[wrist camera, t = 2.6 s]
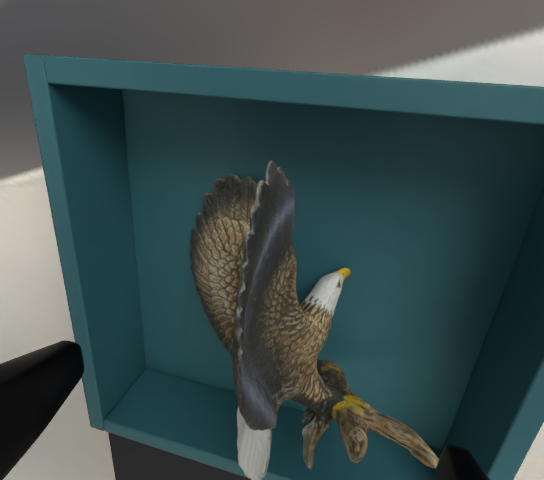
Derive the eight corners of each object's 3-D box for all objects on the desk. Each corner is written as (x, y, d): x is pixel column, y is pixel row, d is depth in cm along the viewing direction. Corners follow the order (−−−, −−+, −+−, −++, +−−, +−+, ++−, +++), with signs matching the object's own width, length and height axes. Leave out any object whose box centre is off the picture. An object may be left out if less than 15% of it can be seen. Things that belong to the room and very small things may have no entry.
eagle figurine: (483, 345, 11) (341, 99, 8) (396, 606, 8) (92, 346, 5) (318, 321, 17) (202, 176, 14) (228, 460, 14) (49, 307, 11)
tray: (139, 369, 18) (90, 427, 15) (110, 65, 13) (20, 53, 9) (453, 456, 15) (475, 553, 12) (599, 98, 9) (716, 97, 6)
